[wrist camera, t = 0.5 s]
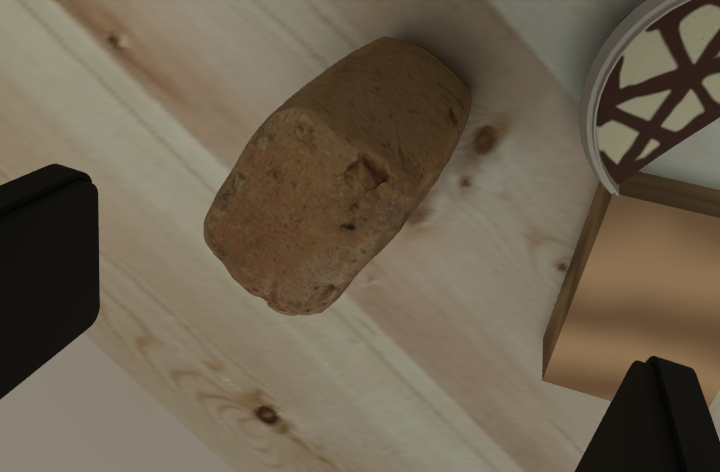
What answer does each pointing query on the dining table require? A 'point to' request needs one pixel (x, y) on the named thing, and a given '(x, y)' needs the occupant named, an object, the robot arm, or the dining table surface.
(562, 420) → the dining table surface
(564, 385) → the plinth
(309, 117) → the brown lumpy post
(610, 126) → the food container
